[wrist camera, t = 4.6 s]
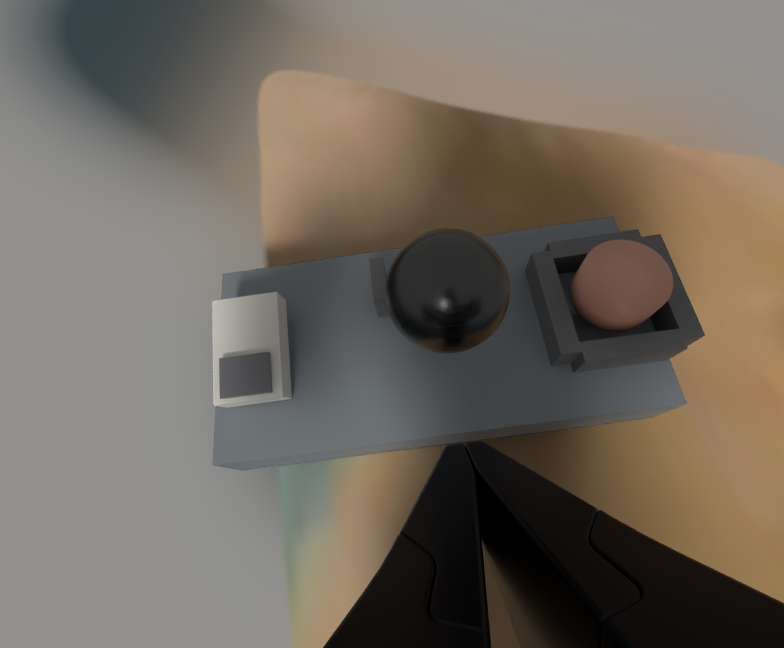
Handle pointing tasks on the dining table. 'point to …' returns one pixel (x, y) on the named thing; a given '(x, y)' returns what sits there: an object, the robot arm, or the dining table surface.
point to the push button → (620, 285)
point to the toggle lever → (447, 291)
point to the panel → (452, 358)
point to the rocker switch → (250, 350)
